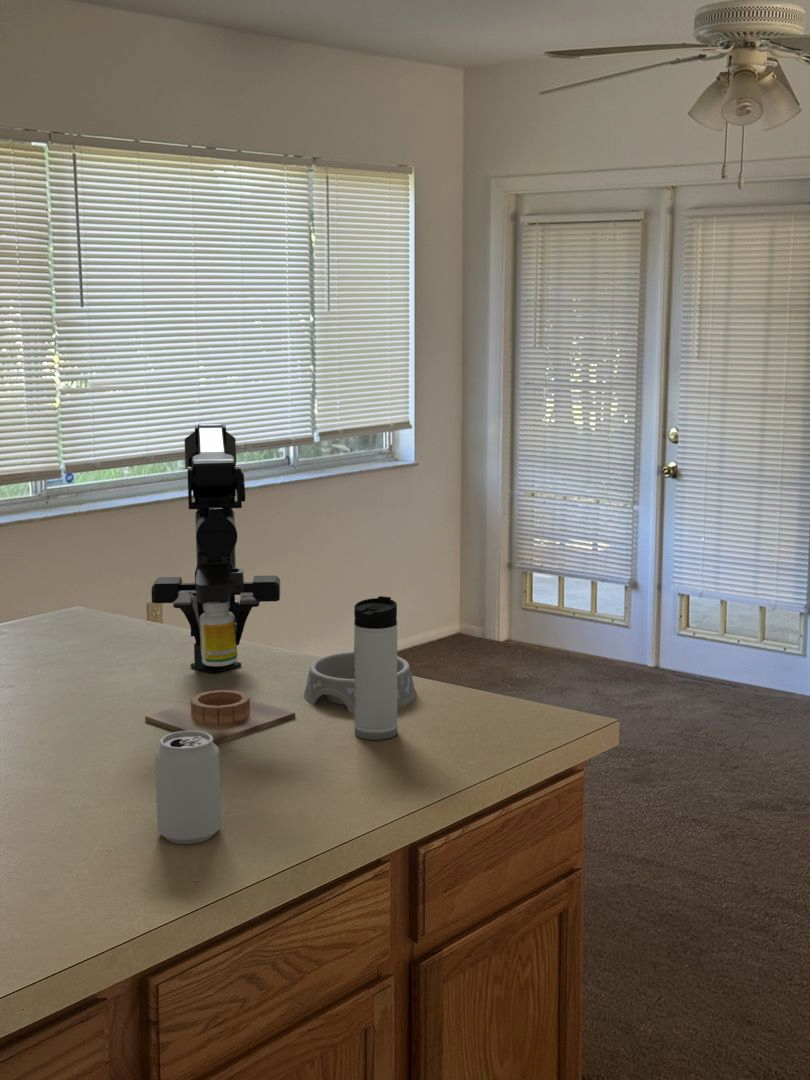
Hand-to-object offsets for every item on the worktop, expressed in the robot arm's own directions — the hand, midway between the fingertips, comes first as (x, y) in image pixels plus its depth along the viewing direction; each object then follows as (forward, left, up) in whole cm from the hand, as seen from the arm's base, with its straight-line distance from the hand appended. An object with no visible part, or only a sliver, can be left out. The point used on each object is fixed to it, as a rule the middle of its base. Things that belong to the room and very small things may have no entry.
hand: (218, 644), depth 189 cm
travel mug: (-11, +22, -12) cm, 27 cm away
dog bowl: (-23, +8, -12) cm, 27 cm away
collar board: (0, 0, -12) cm, 12 cm away
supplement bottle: (0, 0, -3) cm, 3 cm away
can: (+30, +29, -12) cm, 44 cm away
